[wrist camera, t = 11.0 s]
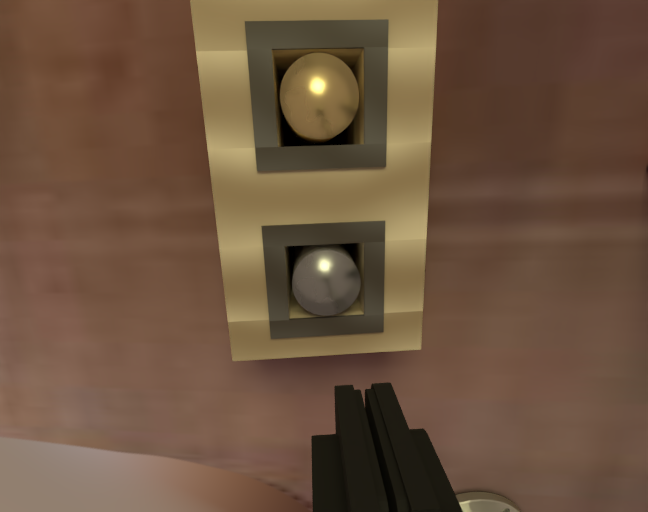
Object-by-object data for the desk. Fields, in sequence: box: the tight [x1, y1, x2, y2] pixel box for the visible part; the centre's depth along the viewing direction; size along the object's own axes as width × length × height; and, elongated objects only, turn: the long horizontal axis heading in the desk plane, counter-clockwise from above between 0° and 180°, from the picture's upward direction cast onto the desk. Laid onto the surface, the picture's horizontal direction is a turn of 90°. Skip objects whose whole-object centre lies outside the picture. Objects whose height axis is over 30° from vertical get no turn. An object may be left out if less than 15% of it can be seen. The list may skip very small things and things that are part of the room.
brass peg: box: [280, 53, 359, 144], centre depth 21 cm, size 4×4×7 cm
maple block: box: [190, 0, 438, 361], centre depth 23 cm, size 20×12×7 cm, turn 2°
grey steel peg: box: [292, 244, 361, 316], centre depth 23 cm, size 4×4×7 cm
